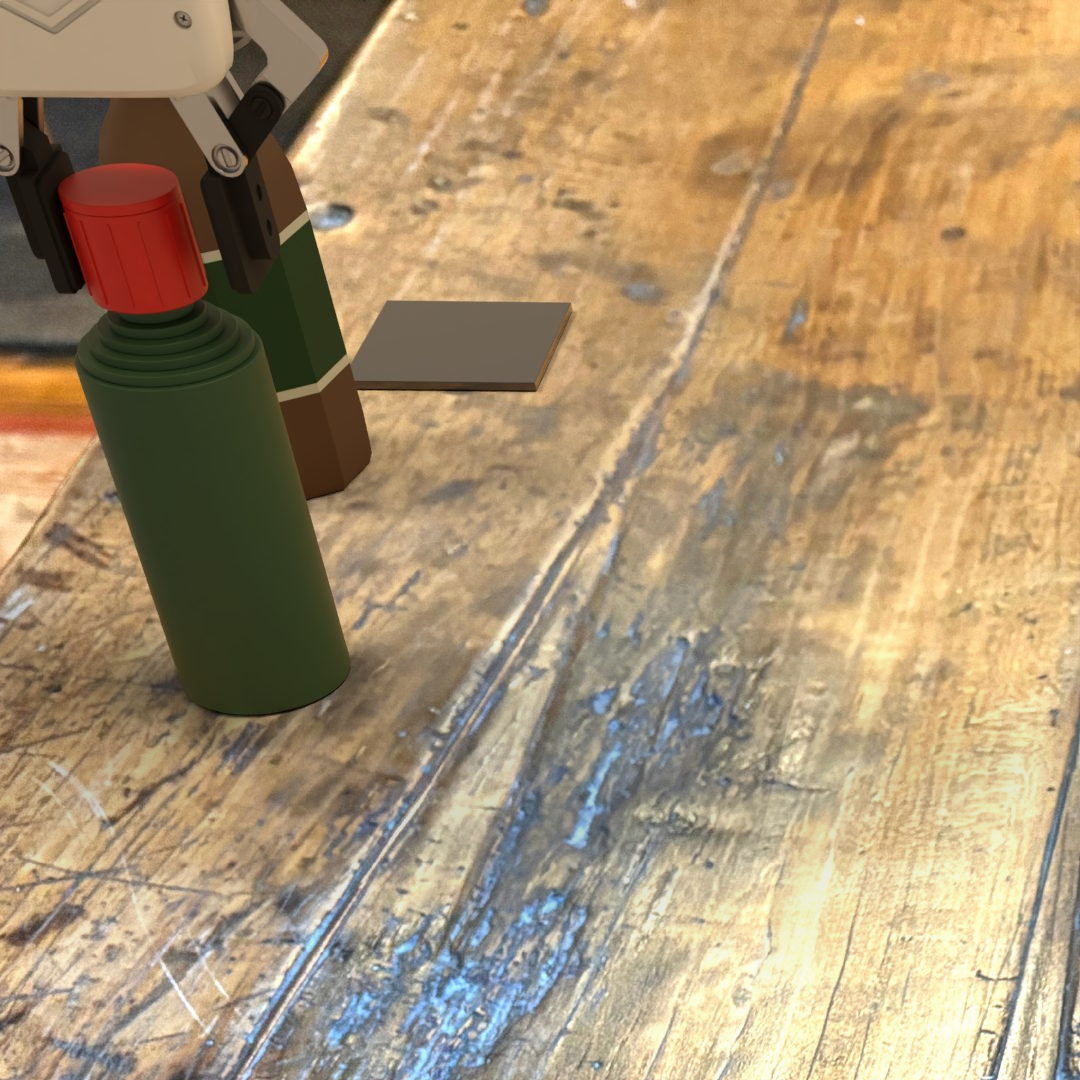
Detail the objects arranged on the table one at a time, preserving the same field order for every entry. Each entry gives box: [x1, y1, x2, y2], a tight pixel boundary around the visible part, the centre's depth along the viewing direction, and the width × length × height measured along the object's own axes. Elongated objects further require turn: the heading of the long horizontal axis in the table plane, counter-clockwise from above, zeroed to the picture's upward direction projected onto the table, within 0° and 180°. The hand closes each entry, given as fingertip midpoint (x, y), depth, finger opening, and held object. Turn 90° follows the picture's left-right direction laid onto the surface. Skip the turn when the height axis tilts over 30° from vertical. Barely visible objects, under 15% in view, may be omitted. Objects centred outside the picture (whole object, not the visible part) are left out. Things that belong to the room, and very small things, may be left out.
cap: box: [58, 163, 208, 314], centre depth 89 cm, size 4×4×4 cm
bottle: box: [74, 299, 352, 716], centre depth 95 cm, size 6×6×18 cm
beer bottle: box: [98, 97, 373, 500], centre depth 105 cm, size 8×8×24 cm
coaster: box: [350, 299, 573, 392], centre depth 122 cm, size 9×9×1 cm
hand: (166, 273), depth 90 cm, fingers open, 5 cm apart
